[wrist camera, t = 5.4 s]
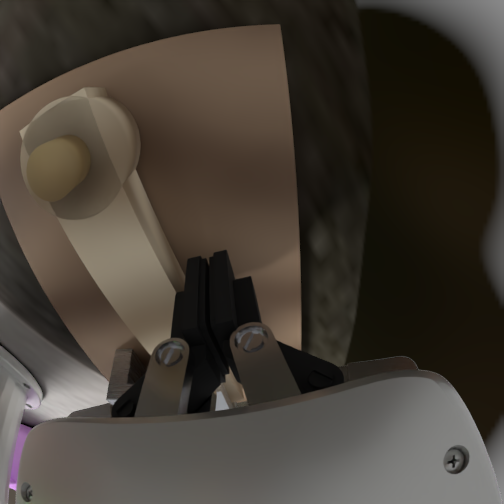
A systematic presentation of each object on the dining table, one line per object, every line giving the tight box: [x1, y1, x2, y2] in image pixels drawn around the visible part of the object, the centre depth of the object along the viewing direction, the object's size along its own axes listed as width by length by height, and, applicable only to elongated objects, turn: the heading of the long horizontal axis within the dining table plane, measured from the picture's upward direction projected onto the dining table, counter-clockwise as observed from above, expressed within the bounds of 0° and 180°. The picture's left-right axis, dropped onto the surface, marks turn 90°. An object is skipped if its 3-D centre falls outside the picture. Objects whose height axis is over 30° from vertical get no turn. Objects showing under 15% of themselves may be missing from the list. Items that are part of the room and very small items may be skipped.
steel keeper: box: [106, 348, 237, 411], centre depth 16 cm, size 6×6×4 cm
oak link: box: [19, 87, 244, 403], centre depth 12 cm, size 18×4×3 cm, turn 15°
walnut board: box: [0, 24, 301, 402], centre depth 14 cm, size 24×14×1 cm, turn 7°
